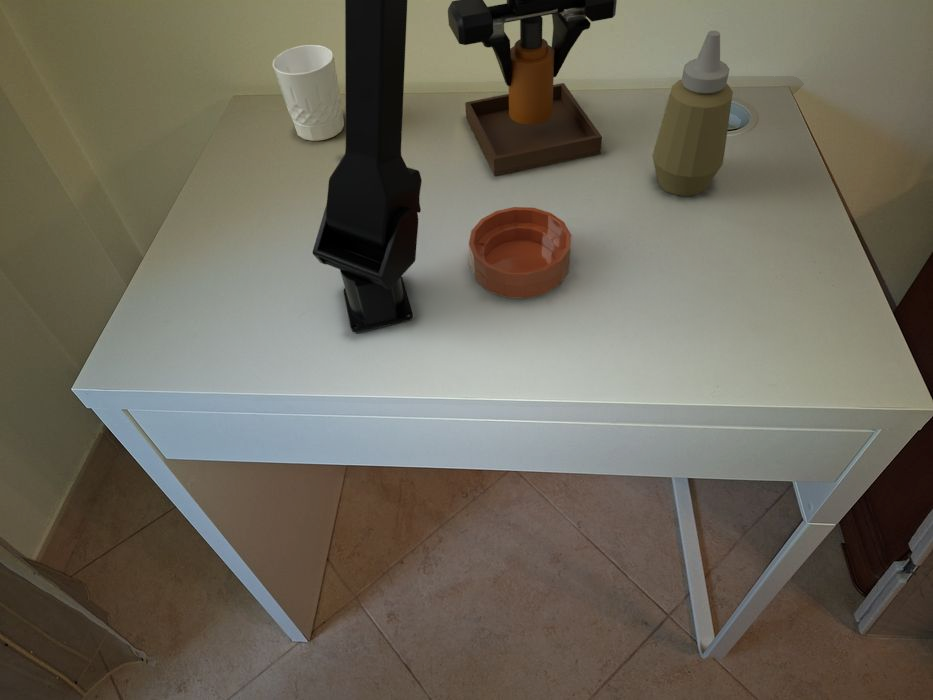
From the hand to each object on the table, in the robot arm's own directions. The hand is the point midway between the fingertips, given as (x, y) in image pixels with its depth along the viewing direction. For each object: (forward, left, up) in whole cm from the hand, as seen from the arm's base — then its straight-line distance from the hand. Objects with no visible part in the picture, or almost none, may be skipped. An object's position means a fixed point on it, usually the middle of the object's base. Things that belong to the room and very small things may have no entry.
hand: (530, 80), depth 84 cm
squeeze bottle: (-16, -14, -8) cm, 23 cm away
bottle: (0, 0, -5) cm, 4 cm away
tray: (0, 0, -8) cm, 8 cm away
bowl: (-24, +9, -8) cm, 27 cm away
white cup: (+12, +27, -8) cm, 31 cm away
